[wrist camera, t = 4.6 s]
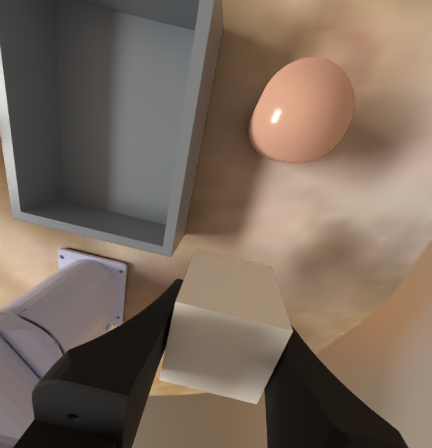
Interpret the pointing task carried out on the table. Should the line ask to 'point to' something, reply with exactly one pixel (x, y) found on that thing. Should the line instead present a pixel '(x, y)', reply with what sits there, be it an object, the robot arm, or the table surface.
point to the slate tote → (106, 113)
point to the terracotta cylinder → (302, 111)
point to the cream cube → (226, 327)
